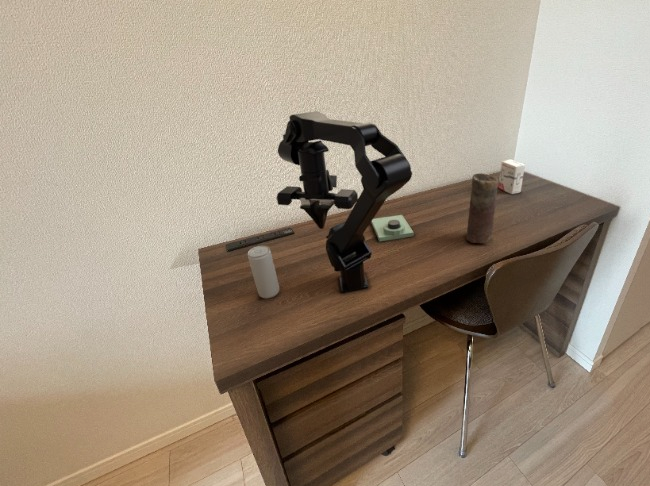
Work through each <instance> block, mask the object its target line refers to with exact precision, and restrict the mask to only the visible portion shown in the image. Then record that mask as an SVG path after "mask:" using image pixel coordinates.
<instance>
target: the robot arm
mask: <svg viewBox="0 0 650 486" xmlns="http://www.w3.org/2000/svg"><path fill="white" fill-rule="evenodd" d="M324 141H326V142H330V143H336V144H341V145H346V146H350V147H351V149H352V150H353V154H354V165H355V168H356V170H357V171H358V173H359V175H360V177H361V178H360V182H361V186H362V191H361V192H360V195H359V196H358V192H357V191H356V190H355V189H348V188H346V189H345V188H341V189H340V190H339V191H338V192H337V193H335V192H332V191H333V190H334V188H336V189H337V185H338V175H335V174H334V175H333V174H330V171H329V169H327V166H326V157H325V153H327V152H329V150H330V149H329V148H328V146H327V145H326V144H324V143H323V142H324ZM368 146H371V148H373V149H374V150H375V151H377V152H378V153H379V154H381V155H382V156H383V157H380V158H376V159H373V160H370V158H369V157H368V156H367V150H366V147H368ZM277 154H278V156H279V158H280V159H281V160H283V161H285V162H288V163H291V164H294V165H296V166H299V169H300V174H301V175H300V176H298V179H299V182H302V186H303V189H302V187H300V186H291V185H289V186H288V185H286V187H284V188H283V189H282V190H280V191H279V192H277V194H276V203H277V205H279V206H289V205H291V204H292V202H293V200H296V201H297V200H298V201H299V202H300V206H299V209H300V210H303V211H304V212H305V213H306V214H307V215H308V216H309V217H310V218H311V219H312V220H313V223H314V224H315V225H316V226H317V227H318V229H319V230H323V229H324V228H325V225H326V221H327V217H328V213H329V211H330V210H331V208H332V207H333V206H334V207H336V208H337V209H338V210H350V213H349V214H348V216H347V218H346V219H345V221H344V222H341V223H338V224H337V225H335V226H332V227H330V229H329V230H328V234H327V235H326V236H325V238H326V241H325V251H326V254H327V258H328V260H329V262H330V265H331V267H332V268H333V270H334V272H335V273H337V272H339V273H340V274H339V276H338V279H339V284H340V290H341V293H349V292H354V291H359V290H364V289H368V288H369V283H368V279H367V277H366V273H365V266H364V262H366V261H367V260H370V259H371V258H372V254H373V253H372V250H371V249H370V247H369V246H368V244H367V243H366V237H365V235H364V233H365V232H366V230H367V229H368V227H369V225H371V221H372V220H373V219H375V217H376V216H377V214H378V213H379V211H380V210H381V208H382V206H383V205H384V204H385V202H386V200H387V199H388V198H389V197H390V196H391V197H392V195H394V194H395V193H397V192H398V191H400V190H401V189H402V188H403V187H404V186H405V185H406V184H408V183H409V181H411V179H412V176H413V172H412V170H411V169H412V166H411V164H410V162H409V160H408V159H407V157H406V155H405V154H404V153H403V151H402V150H401V148H400V147H399V146H398V145H397V144H396V143H395V142H394V141H392V140H391V139H390V138H388V137H387V136H385V135H384V134H383V133H382V132H381V131H380V129H379V128H378V126H377V125H376V124H374V123H373V122H356V121H348V120H341V119H331V118H328V116H327V115H326V114H324V113H322V112H320V111H316V110H315V111H309V112H302V113H295V114H294V113H293V114H290V115H289V120H288V121H287V124H286V128H285V133H283V134H282V140H281V141H280V142H279V144H278V147H277Z"/></svg>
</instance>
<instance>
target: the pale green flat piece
mask: <svg viewBox="0 0 650 486" xmlns="http://www.w3.org/2000/svg"><path fill="white" fill-rule="evenodd" d="M390 220H398V221H399V222H400V228H398V229H389V228H388V222H389V221H390ZM370 225H371V226H372V228H373V230H374V233H375V235H376V237H377V239H378V242H385V241H386V242H387V241H392V240H398V239H399V240H400V239H405V238H412V237H414V236H415V233H414V231H413V230H412V228H411V226H410V225H409V223H408V221H407V220H406V219H405V216H403V214H399V215H392V216H391V215H390V216H383V217H377V218H373V220H372V221H371V223H370Z"/></svg>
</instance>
